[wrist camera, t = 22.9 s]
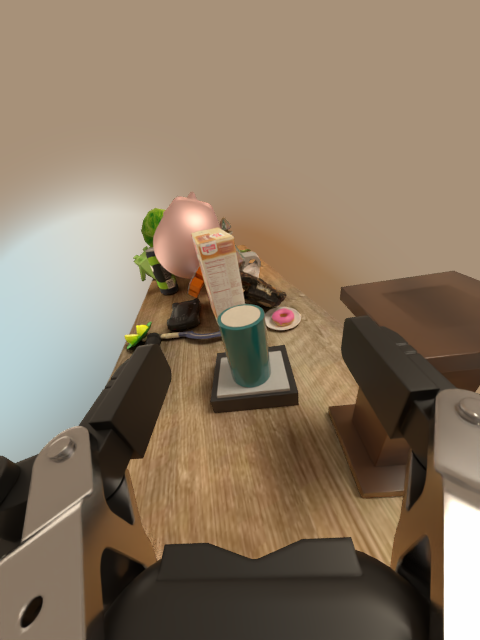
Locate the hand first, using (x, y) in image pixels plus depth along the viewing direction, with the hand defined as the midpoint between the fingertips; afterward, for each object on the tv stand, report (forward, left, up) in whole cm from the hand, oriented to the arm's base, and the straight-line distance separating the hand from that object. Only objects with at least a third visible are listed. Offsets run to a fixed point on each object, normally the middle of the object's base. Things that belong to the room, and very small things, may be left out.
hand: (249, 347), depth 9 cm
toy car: (+18, -40, -21) cm, 49 cm away
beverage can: (+29, -60, -21) cm, 70 cm away
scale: (+2, -16, -21) cm, 26 cm away
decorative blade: (+16, -27, -19) cm, 37 cm away
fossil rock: (+4, -36, -12) cm, 38 cm away
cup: (+2, -15, -17) cm, 23 cm away
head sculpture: (+23, -76, -8) cm, 80 cm away
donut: (-5, -34, -21) cm, 40 cm away
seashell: (0, -54, -22) cm, 58 cm away
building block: (+13, -44, -14) cm, 48 cm away
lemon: (+27, -32, -19) cm, 45 cm away
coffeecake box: (+7, -39, -21) cm, 44 cm away
